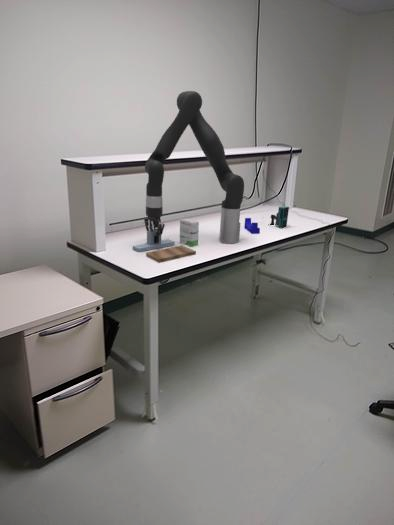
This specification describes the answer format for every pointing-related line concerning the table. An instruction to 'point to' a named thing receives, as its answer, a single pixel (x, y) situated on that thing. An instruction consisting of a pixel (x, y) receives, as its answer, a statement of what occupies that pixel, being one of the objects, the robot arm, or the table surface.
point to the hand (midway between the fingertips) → (154, 241)
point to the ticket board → (170, 253)
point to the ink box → (189, 232)
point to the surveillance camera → (280, 217)
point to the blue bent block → (251, 226)
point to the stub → (151, 244)
